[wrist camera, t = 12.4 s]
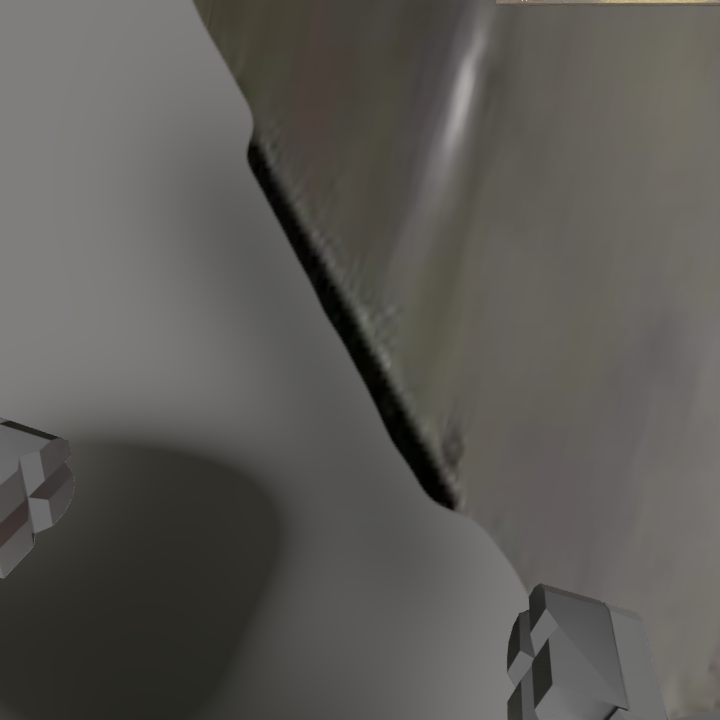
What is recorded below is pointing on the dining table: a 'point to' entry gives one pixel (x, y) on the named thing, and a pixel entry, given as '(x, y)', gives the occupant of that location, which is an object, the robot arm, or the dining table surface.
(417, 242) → the dining table surface
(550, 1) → the pipe valve
